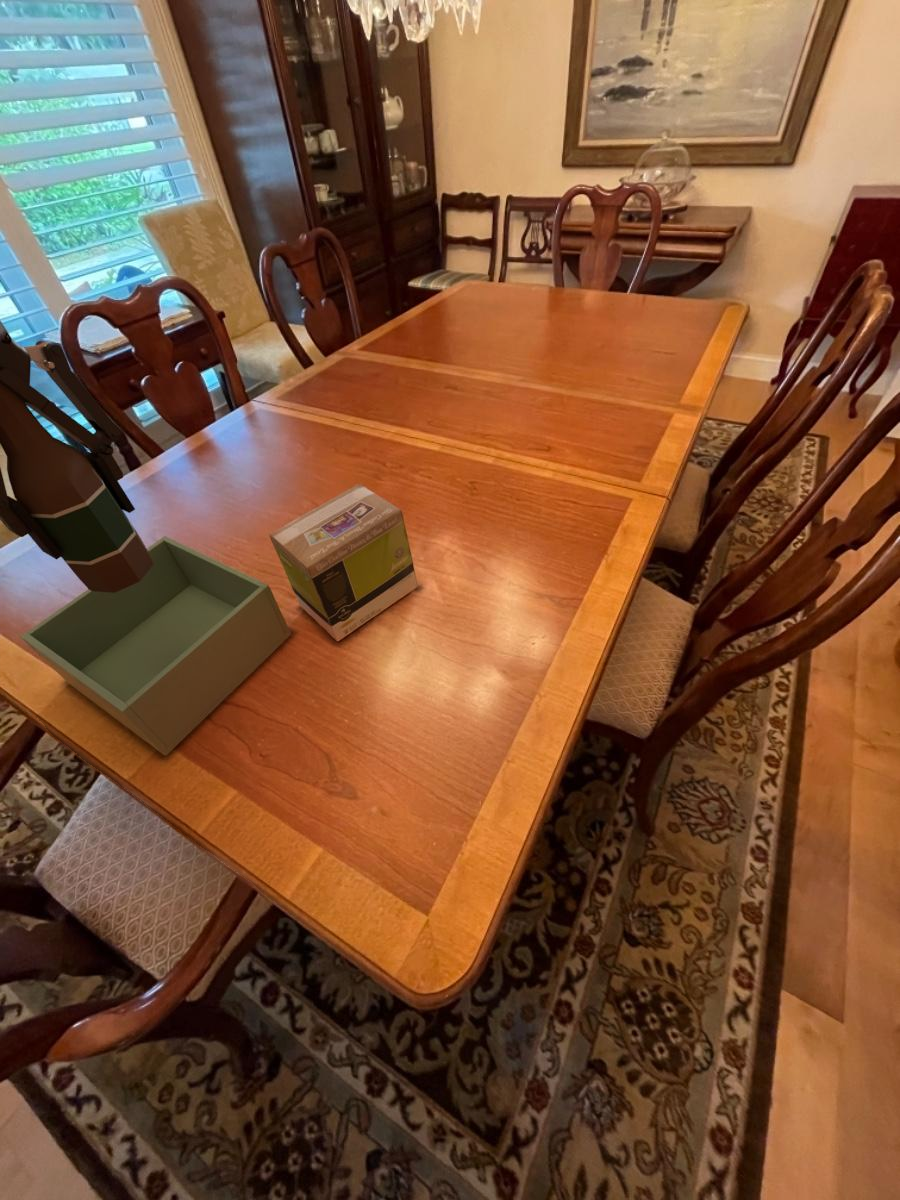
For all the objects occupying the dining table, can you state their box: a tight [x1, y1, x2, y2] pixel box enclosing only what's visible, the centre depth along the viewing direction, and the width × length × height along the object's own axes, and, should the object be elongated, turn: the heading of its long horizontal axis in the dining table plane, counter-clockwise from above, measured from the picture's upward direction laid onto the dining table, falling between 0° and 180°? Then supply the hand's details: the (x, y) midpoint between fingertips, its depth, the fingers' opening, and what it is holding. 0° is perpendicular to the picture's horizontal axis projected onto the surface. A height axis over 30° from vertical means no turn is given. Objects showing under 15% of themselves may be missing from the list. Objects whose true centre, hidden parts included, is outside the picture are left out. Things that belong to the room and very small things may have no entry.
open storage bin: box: [19, 535, 292, 757], centre depth 71 cm, size 22×22×10 cm
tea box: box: [268, 483, 419, 642], centre depth 74 cm, size 15×10×15 cm
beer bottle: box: [0, 382, 153, 593], centre depth 53 cm, size 8×8×24 cm
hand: (90, 529), depth 57 cm, fingers closed on beer bottle, 8 cm apart
